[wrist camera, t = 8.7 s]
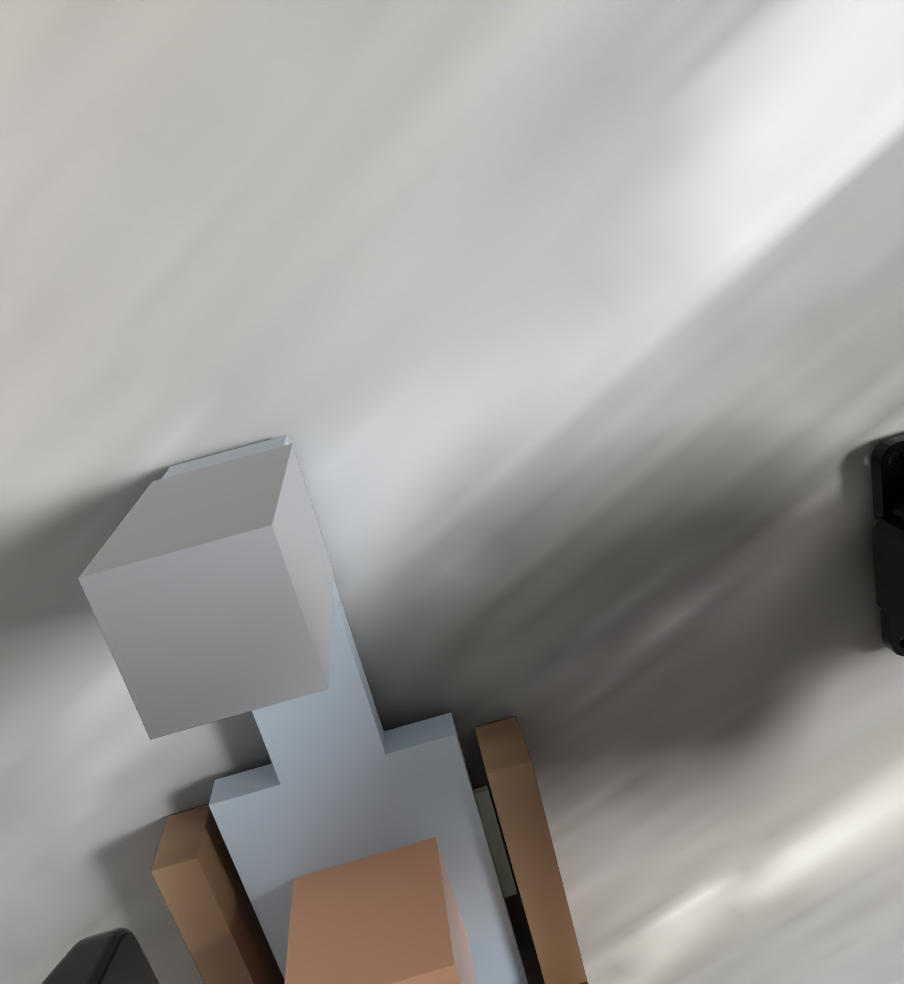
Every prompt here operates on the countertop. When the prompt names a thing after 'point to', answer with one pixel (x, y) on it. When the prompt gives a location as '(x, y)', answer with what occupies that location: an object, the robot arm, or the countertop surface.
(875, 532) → the robot arm
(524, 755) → the tunnel channel
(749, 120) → the countertop surface
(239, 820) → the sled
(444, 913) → the block
